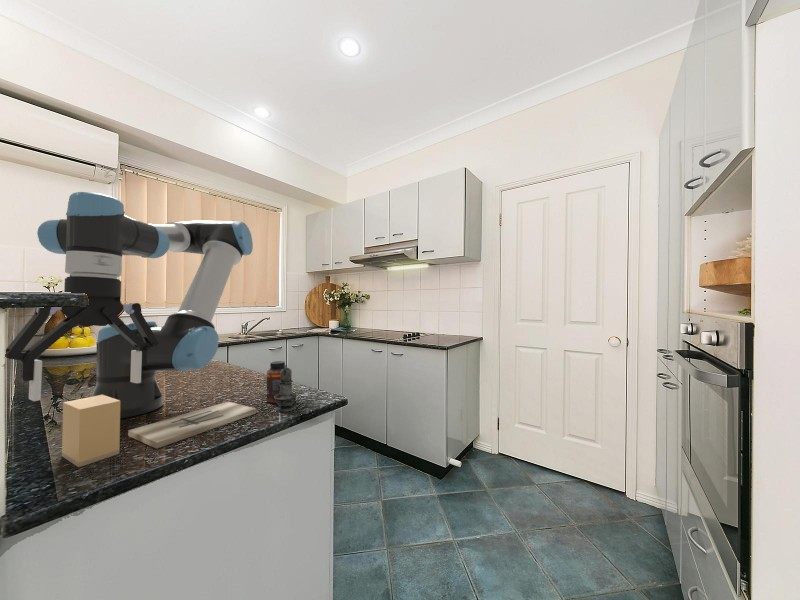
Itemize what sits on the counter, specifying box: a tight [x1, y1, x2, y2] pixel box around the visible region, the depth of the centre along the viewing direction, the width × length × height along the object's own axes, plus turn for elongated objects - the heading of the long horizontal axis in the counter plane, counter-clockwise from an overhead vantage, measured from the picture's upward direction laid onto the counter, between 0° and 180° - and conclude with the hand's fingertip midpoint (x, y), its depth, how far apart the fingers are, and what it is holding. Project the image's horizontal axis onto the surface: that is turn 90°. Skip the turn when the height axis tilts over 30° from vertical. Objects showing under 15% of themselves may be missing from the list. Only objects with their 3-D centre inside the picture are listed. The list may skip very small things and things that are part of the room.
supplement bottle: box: [265, 360, 286, 404], centre depth 89 cm, size 6×6×11 cm
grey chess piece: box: [274, 364, 298, 413], centre depth 82 cm, size 6×6×12 cm
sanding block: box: [61, 395, 121, 468], centre depth 57 cm, size 8×6×10 cm
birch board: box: [127, 401, 257, 449], centre depth 72 cm, size 12×22×1 cm, turn 152°
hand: (90, 390), depth 56 cm, fingers open, 13 cm apart
